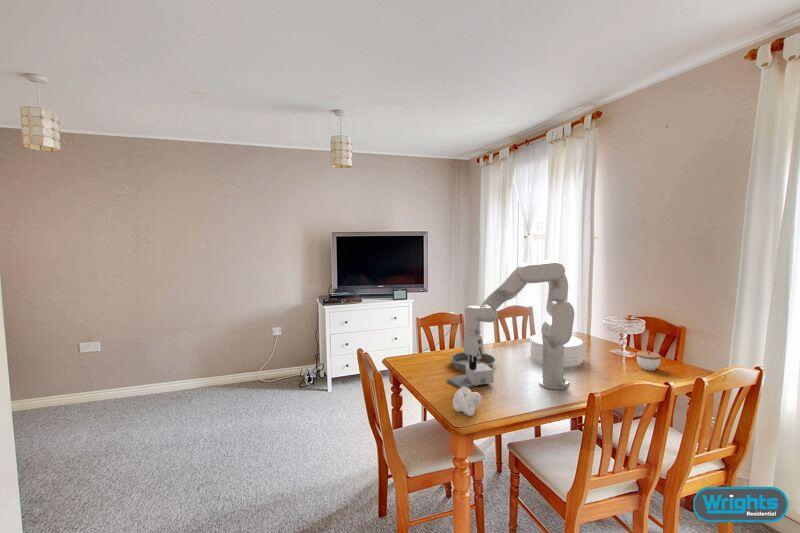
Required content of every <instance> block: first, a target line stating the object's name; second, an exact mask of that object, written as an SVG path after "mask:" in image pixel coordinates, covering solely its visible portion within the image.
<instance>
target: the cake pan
mask: <svg viewBox="0 0 800 533" xmlns="http://www.w3.org/2000/svg"><path fill="white" fill-rule="evenodd" d="M450 361H452V363H453V368H455V369H457V370H459V371H461V372H466V369H465V365H469V361H470V360H468V356H467V355H466V354H465V352H464V351H462V352H457V353H455V354H453V355H451V356H450ZM481 361H482V362H485V364H486V363H487V364H486V365H487V366H489V367H490V368H491V369H493V366H494V363H495V362H496V358H495V357H494V356H493V355H490V354H488V353H485V352H483V355H481V359H478V360H477V361H476V364H482V363H481Z"/></svg>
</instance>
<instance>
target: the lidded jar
mask: <svg viewBox="0 0 800 533" xmlns="http://www.w3.org/2000/svg"><path fill="white" fill-rule="evenodd" d="M661 358H662V355H661V354H659V353H657V352H651V351H650V350H647V351H646V350H645V351H644V350H643V351H637V352H636V361H637V364H638V366H640V367H641V369H642V370H645V371H655V370H656V369H657V368H659V366H660V364H661Z"/></svg>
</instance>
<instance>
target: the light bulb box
mask: <svg viewBox="0 0 800 533" xmlns="http://www.w3.org/2000/svg"><path fill="white" fill-rule="evenodd" d="M465 369H466V371H465V374H466V378H467V379H468V380H469V381H470V382H471V383H472V384H473V385H477V386H479V385H480V386H481V385H486V384H489V385H490V384H493V383H494V382H495V380H494V379H495V378H494V369H493V368H492V369H491V368H490V367H489V366H487V365H486V362H485V363H481V364H476V369H469V365H465Z"/></svg>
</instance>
